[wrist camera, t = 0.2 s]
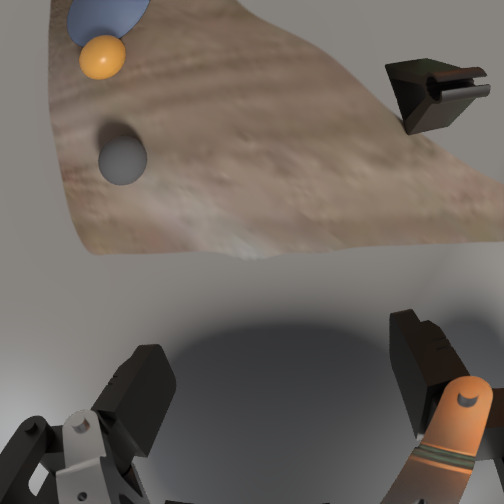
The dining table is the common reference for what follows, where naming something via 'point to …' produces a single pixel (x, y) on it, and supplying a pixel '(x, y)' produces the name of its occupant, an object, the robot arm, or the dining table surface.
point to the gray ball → (122, 160)
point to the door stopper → (433, 92)
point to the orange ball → (102, 57)
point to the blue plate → (103, 18)
